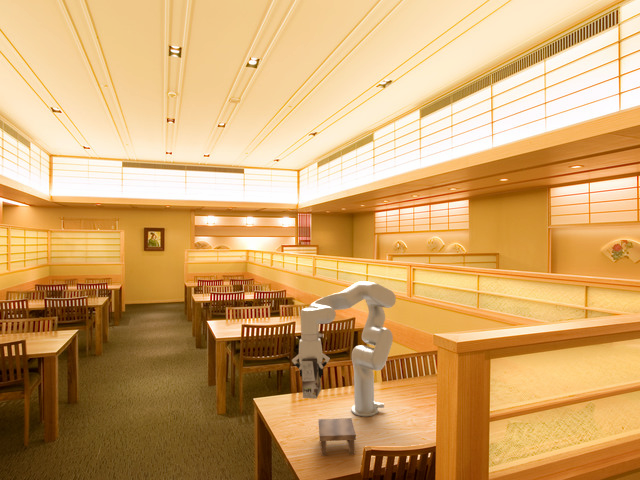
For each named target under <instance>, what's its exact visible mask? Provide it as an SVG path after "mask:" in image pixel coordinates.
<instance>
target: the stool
mask: <svg viewBox="0 0 640 480" xmlns="http://www.w3.org/2000/svg"><path fill="white" fill-rule="evenodd" d="M318 432H319V433H318V435H319V436H318V437H319V442H320V448H321V449H320V451H321V453H320V454H321V456H322V457H323V456H324V457H325V456H327V442H333V441H335V442H337V441H338V442H339V441H349V442H348V450H349V451H348V452H349V456H352V455H353V456H354V455H355V441H356V439H357V434H356V430H355V426H354V422H353V419H352V417H351V418H350V417H349V418H347V417H346V418H321V419H320V418H319V419H318Z"/></svg>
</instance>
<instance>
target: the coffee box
mask: <svg viewBox="0 0 640 480" xmlns="http://www.w3.org/2000/svg"><path fill="white" fill-rule="evenodd" d="M319 367H320V366H319V364H318V362H317V359H307V360H302V376H301V381H302V398H303V399H313V400H314V399H315V400H317V399H318V397H319V394H320V393H321V391H322V387H321V386H322V384H321V383H322V381H321V378H320V372H319Z"/></svg>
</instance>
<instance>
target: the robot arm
mask: <svg viewBox="0 0 640 480" xmlns="http://www.w3.org/2000/svg"><path fill="white" fill-rule="evenodd" d="M395 294H396V293H394V292H393V290H392V289H388V288H387V287H385V286H384V285H381V284H379V283H377V282H373V281H363V280H362V281H361V280H359V281H357V282H355V283H353V284H352V285H350V286H348V287H347V288H345V289H343V290H341V291H340V292H335V293H332V294H329V295H327V296H323V297H321V298H319V299H316V300H315V301H313V302H311V304H310V305H309V306H308V307H304V308H302V309H300V316H299V317H300V333H301V334H300V335H301V336H300V337H301V338H300V339H299V343H298V354H297V355H296V356H295V357H293V358H292V359H291V362H292V363H293V365H295V367H296V368H297V369H298V370H299V377H301V378H302V360H307V359H317V362H318V364H319V366H320V367H319V372H320V379H322V376H324V368H325V367H326V366H327V364H328V363H329V361H330V357H329V356H327V355H326V353H323V348H322V347H323V346H322V341H321V338H322V337H323V333H321V332H319V325H320V324H330V323H332V322H333V321H334V320H335V319H336V316H337V315H336V311H341V310H347V309H350V308H352V307H354V306H355V305H357V304H358V303H360V302H362V301H363V300H364V301H365V302H366V305H367V307H368V315H367V319H366V321H365V325H364V327H363V329H362V333H361V340H362V341H363V342H364V343H365V344H367V345H363V344H361V345H360V344H359V345H356V346H355V347H354V348H353V349H352V352H351V362H352V366H353V367H352V368H353V382H354V383H353V384H354V385H353V387H354V390H353V391H354V396H353V397H354V404H353V405H352V406H351V413H352V414H353V415H355V416H359V417H373V416H375V415H377V413H378V409H382V408H383V409H384V408H385V403H382V402H381V401H375V387H374V385H375V382H374V381H375V375H374V374H375V373H374V371H381V370H382V369H383V368H384V367H385V365H386V363H387V360H388V357H389V355H390V351H391V349H392V345H393V341H394V340H393V339H394V338H393V337H394V336H393V332H392V330H391V329H389V328H388V327H384V324H385V321H386V314H385V309H384V308H386V309H391V308H392V307H394V305H395V304H396V302H397V301H396V300H397V298H396V295H395ZM368 345H370V346H368ZM371 346H374V347H371ZM323 359H325V360H324V361H323Z"/></svg>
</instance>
